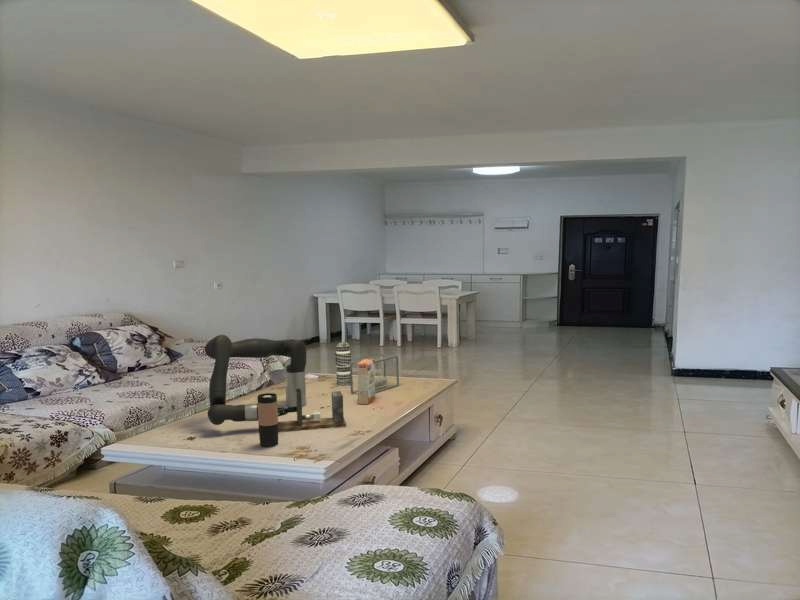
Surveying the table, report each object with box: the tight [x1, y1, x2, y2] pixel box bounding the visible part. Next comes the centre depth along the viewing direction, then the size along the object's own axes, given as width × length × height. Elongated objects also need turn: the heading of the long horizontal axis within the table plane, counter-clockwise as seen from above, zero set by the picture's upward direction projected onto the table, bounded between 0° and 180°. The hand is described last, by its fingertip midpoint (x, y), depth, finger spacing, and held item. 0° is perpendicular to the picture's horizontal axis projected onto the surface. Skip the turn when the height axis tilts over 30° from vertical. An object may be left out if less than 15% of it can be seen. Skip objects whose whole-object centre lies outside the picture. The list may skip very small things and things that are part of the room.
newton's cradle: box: [350, 354, 400, 395], centre depth 334 cm, size 30×10×18 cm, turn 143°
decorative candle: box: [334, 341, 352, 388], centre depth 346 cm, size 9×9×25 cm
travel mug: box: [257, 392, 279, 448], centre depth 242 cm, size 8×8×20 cm
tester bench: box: [278, 390, 347, 433], centre depth 267 cm, size 32×11×14 cm, turn 102°
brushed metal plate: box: [296, 389, 314, 425], centre depth 266 cm, size 7×9×14 cm
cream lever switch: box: [312, 409, 321, 421], centre depth 270 cm, size 3×7×3 cm, turn 12°
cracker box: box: [356, 358, 376, 405], centre depth 309 cm, size 14×6×21 cm, turn 168°
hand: (296, 409), depth 266 cm, fingers closed
